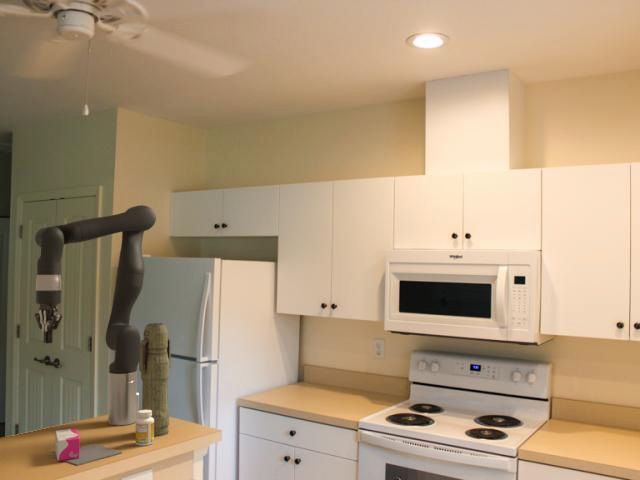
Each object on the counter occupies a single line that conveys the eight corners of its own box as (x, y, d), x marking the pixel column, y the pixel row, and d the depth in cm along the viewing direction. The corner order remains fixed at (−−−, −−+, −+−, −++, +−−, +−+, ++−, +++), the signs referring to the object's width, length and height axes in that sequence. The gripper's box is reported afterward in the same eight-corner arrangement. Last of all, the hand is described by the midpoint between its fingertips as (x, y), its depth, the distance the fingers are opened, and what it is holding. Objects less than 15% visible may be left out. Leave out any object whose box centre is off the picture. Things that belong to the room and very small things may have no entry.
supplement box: (54, 450, 180) (56, 461, 170) (55, 430, 181) (57, 439, 170) (76, 448, 183) (79, 458, 173) (76, 428, 183) (80, 436, 173)
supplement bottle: (148, 439, 192) (148, 408, 193) (157, 443, 188) (157, 411, 189) (132, 443, 188) (132, 411, 189) (140, 447, 185) (141, 414, 185)
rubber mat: (94, 444, 187) (94, 443, 187) (122, 453, 179) (122, 452, 179) (49, 455, 176) (49, 454, 176) (77, 465, 168) (77, 464, 168)
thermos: (130, 436, 196) (131, 324, 198) (156, 427, 207) (157, 321, 208) (152, 439, 192) (153, 325, 194) (177, 430, 203) (178, 322, 204)
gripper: (70, 289, 199) (70, 343, 198) (49, 288, 207) (48, 340, 206) (48, 289, 193) (47, 346, 192) (26, 288, 201) (25, 342, 200)
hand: (47, 343), depth 199 cm, fingers closed
